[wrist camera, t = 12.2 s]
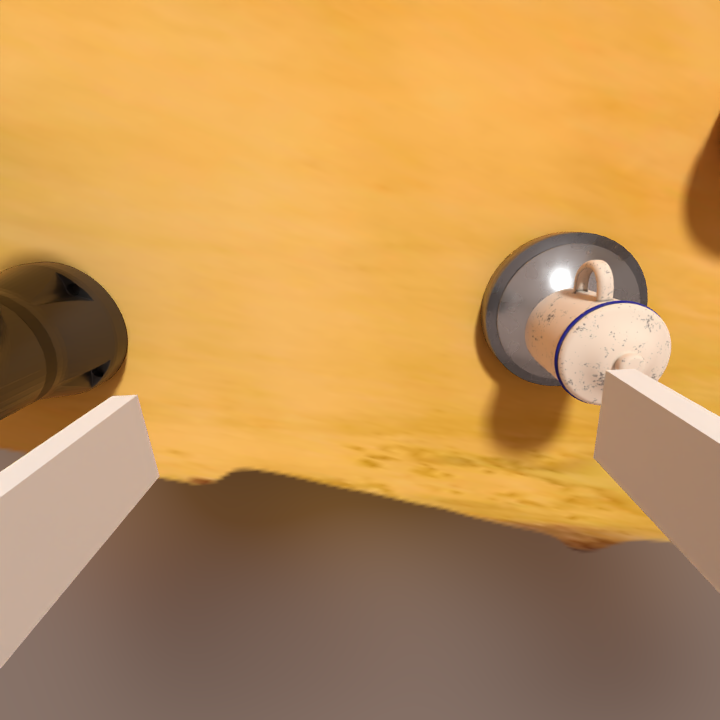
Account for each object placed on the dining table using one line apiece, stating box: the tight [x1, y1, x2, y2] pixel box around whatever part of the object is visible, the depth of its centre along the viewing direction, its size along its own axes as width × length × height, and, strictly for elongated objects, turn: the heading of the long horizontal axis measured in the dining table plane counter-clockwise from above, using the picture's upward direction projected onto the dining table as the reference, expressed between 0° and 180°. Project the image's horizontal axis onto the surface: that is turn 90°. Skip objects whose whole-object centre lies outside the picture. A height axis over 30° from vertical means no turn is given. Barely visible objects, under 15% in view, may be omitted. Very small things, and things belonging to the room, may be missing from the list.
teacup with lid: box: [525, 260, 671, 405], centre depth 35 cm, size 12×9×12 cm
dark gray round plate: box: [481, 232, 648, 386], centre depth 42 cm, size 16×16×3 cm
